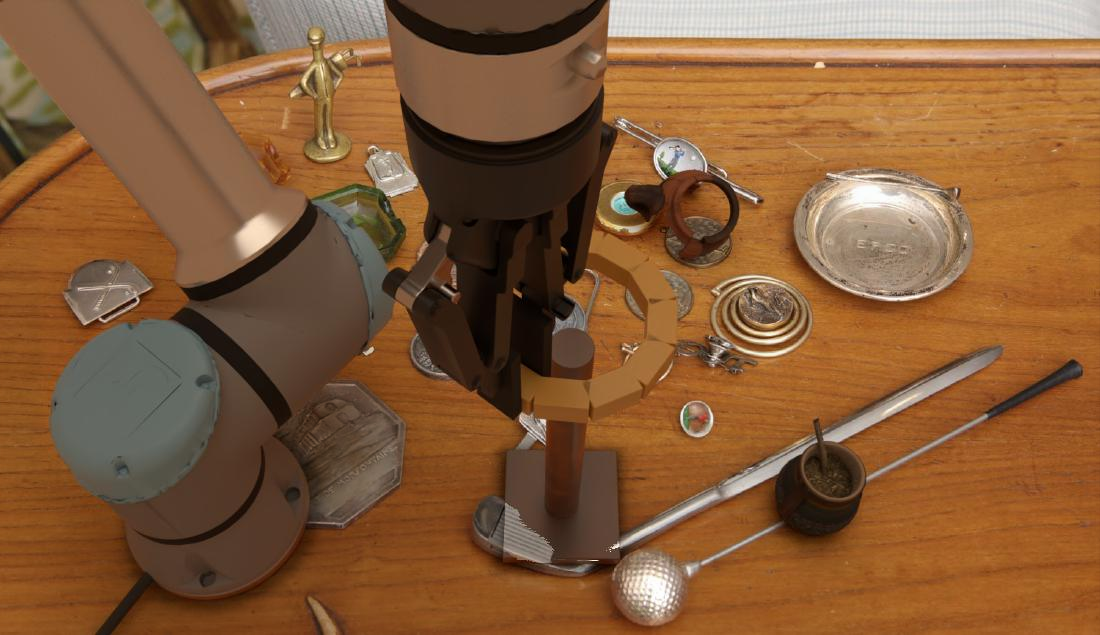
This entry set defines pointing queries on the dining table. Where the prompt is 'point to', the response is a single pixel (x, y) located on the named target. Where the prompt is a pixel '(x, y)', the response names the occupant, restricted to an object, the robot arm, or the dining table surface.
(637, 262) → the ring
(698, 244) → the brown knobbed loop
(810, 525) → the mate gourd
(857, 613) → the dining table surface
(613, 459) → the holder
